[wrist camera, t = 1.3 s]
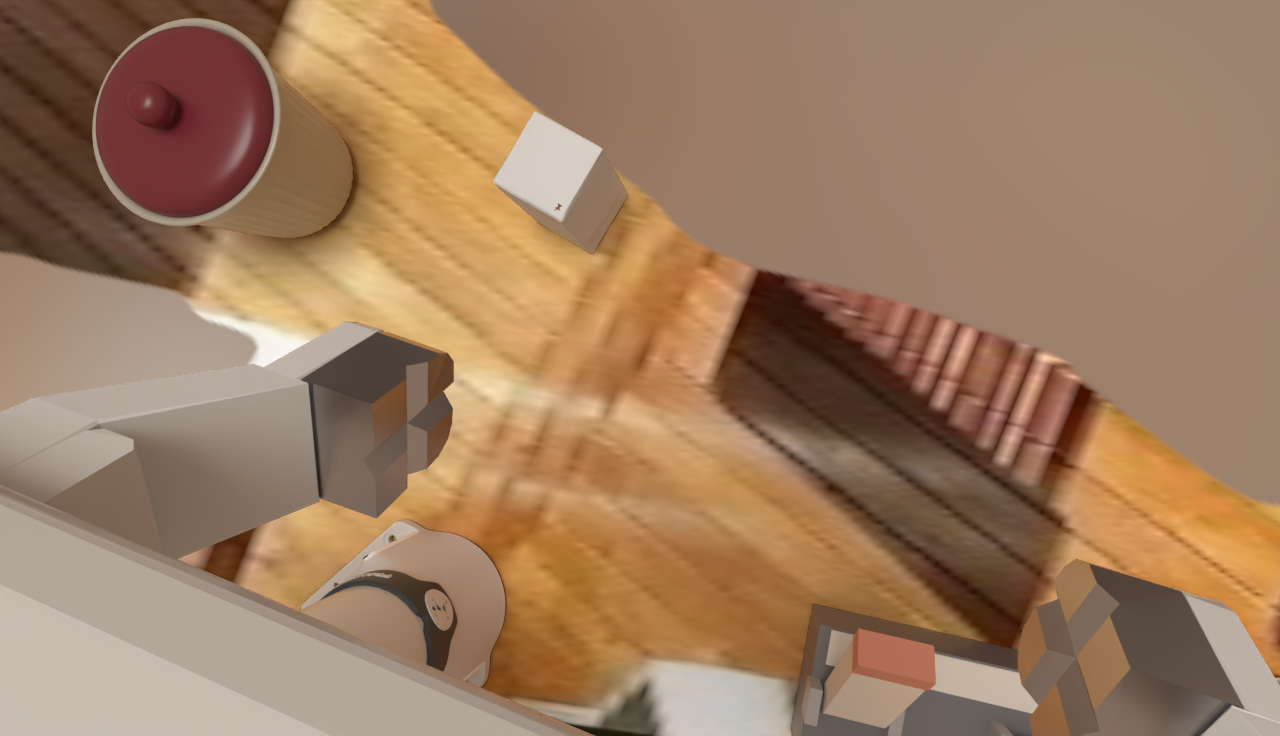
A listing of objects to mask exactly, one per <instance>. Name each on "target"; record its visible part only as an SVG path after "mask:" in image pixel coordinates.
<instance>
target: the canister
mask: <svg viewBox="0 0 1280 736" xmlns="http://www.w3.org/2000/svg"><path fill="white" fill-rule="evenodd" d="M92 133H93V146H94V152H95V157H96V161H97V164H98V167H99V170H100V172H101V174H102V176H103V178H104V180H105V182H106V184H107V186H108V187H109V189H110V190H111V192H112V193H113V194H114V195H115V197H116V198H117V199H118V200H119V201H120V202H121V203H122V204H123V205H124V206H125V207H127V208H128V209H129V210H130V211H132V212H133V213H135V214H137V215H138V216H140V217H142V218H144V219H147V220H149V221H152V222H155V223H158V224H163V225H168V226H191V225H203V226H209V227H215V228H220V229H225V230H231V231H236V232H242V233H248V234H254V235H261V236H268V237H279V238H293V237H297V238H298V237H303V236H305V235H311V234H313V233H314V232H316V231H320V230H321V229H322V228H323V227H325V226H328V225H329V223H330V222H331V221H333V220H335V219H336V217H337V215H338V214H339V213H341V211H342V209H343V207H344V206H345V205H346V201H347V199H348V197H349V196H350V190H351V188H352V180H353V173H352V172H353V166H352V163H351V162H352V159H351V156H350V154H349V150H348V147H347V146H346V144H345V142H344V140H343V138H342V136H341V135H340V134H339V133H338V132H337V130H336V128H335V127H334V126H333V125H332V124H331V123H330V122H329V121H328V120H327V119H326V118H325V117H324V116H323V115H322V114H321V113H320V112H319V111H318V110H317V109H316V108H315V107H314V106H313V105H312V104H310V103H309V102H308V101H307V100H306V99H305V98H304V97H303V96H302V95H301V94H300V93H299V92H298V91H297V90H295V89H294V88H293V87H292V86H291V85H290V84H289V83H288V82H287V81H285V80H284V79H283V78H282V77H281V76H280V75H279V74H278V73H277V72H276V71H275V70H274V69H272V68H271V66H270V64H269V62H268V60H267V59H266V57H265V56H264V54H263V53H262V51H261V50H260V49H259V48H258V47H257V46H256V45H255V43H253V42H252V41H251V40H250V39H249V38H248V37H247V36H245V35H244V34H243V33H241V32H240V31H238V30H236V29H235V28H233V27H231V26H229V25H226V24H224V23H221V22H218V21H214V20H209V19H199V18H191V19H182V20H176V21H172V22H168V23H165V24H163V25H160V26H158V27H156V28H154V29H152V30H150V31H148V32H147V33H145V34H143V35H142V36H140V37H139V38H138V39H136V40H135V41H134V42H133V43H132V44H131V45H129V46H128V47H127V48H126V49H125V50H124V52H123V53H122V54H121V55H120V56H119V57H118V59H117V60H116V61H115V63H114V64H113V66H112V67H111V69H110V70H109V72H108V74H107V76H106V77H105V80H104V82H103V84H102V86H101V89H100V91H99V94H98V97H97V101H96V105H95V110H94V116H93V129H92Z"/></svg>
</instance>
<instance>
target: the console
mask: <svg viewBox="0 0 1280 736" xmlns="http://www.w3.org/2000/svg"><path fill="white" fill-rule="evenodd" d="M858 628H859V629H863V630H868V631H872V632H876V633H881V634H885V635H889V636H894V637H898V638H903V639H907V640H911V641H916V642H920V643H925V644H929V645H933V646H934V655H935V674H936V684H935V685H934V686H933V687H932V688H931V689H930V690H929V691H927V690H925V691H924V692H923V693H922V694H921V695H920V696H919V697H918V698H917V699H916V700H915V701H914V702H913V703H912V704H911V705H910V706H908V707H907V708H906V709H905V710H904V711H903V712H902V713H901V714H900V715H899V716H898V717H897V718H896V719H895V720H894V721H893V722H892V723H891V724H890V725H889V726H887V727H886V728H881V727H877V726H873V725H869V724H864V723H860V722H856V721H852V720H848V719H844V718H840V717H836V716H832V715H828V714H824V713H823V712H820V705H821V699H822V694H823V692H824V683H825V682H826V680H827V679H828V677H829V676H830V674H831V673H832V671H833V670H834V668H835V667H836V665H837V664H838V662H839V661H840V659H841V658H842V656H843V655H844V653H845V652H846V650H847V649H848V647H849V646H850V644H851V643H852V641H853V636H854V634H855V633H856V631H857V630H858ZM1037 707H1038V704H1037V703H1036V702H1035V701H1034V699H1033V698H1032V697H1031V696H1030V694H1029V693H1028V692H1027V691H1026V690H1025V688H1024V687H1023V686H1022V685H1021V679H1020V674H1019V669H1018V650H1016V649H1012V648H1007V647H1003V646H999V645H994V644H990V643H985V642H981V641H976V640H972V639H967V638H963V637H959V636H954V635H950V634H945V633H941V632H936V631H932V630H927V629H923V628H919V627H914V626H910V625H905V624H901V623H896V622H892V621H887V620H883V619H879V618H874V617H870V616H865V615H861V614H856V613H852V612H847V611H843V610H839V609H834V608H830V607H825V606H821V605H816V604H813V605H812V611H811V617H810V622H809V628H808V634H807V639H806V645H805V651H804V656H803V662H802V668H801V673H800V679H799V685H798V690H797V696H796V701H795V707H794V713H793V718H792V724H791V733H792V736H1033V735H1032V731H1031V726H1030V722H1029V717H1030V716H1031V715H1032V714H1033V712H1034V711H1035V710H1036V708H1037Z"/></svg>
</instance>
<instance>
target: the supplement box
mask: <svg viewBox="0 0 1280 736" xmlns="http://www.w3.org/2000/svg"><path fill="white" fill-rule="evenodd" d="M493 183H494V184H495V185H496V186H497V187H498V188H499V189H500V190H501V191H502V192H504V193H505V194H506V195H507V196H508V197H509V198H511V199H512V200H513V201H514V202H515V203H516V204H518V205H519V206H520V207H521V208H522V209H523V210H525V211H526V212H527V213H528V214H529V215H530V216H531V217H532V218H533V219H535V220H536V221H537V222H538V223H540V224H541V225H543V226H545V227H546V228H548V229H549V230H551V231H553V232H554V233H556V234H558V235H559V236H561V237H563V238H564V239H566V240H568V241H570V242H571V243H573V244H575V245H577V246H579V247H580V248H582V249H584V250H586V251H587V252H589V253H591V254H593V253H594V251H595V250H596V248H597V246H598V245H599V243H600V241H601V240H602V238H603V236H604V235H605V233H606V231H607V230H608V228H609V226H610V225H611V223H612V221H613V220H614V218H615V216H616V215H617V213H618V211H619V209H620V208H621V206H622V205H623V203H624V201H625V199H626V198H627V196H628V193H627V191H626V190H625V188H624V186H623V184H622V182H621V181H620V179H619V177H618V175H617V174H616V172H615V170H614V168H613V167H612V165H611V163H610V161H609V160H608V158H607V156H606V154H605V152H604V151H603V149H602V148H601V147H599V146H598V145H596V144H594V143H592V142H590V141H589V140H587V139H585V138H584V137H582V136H580V135H578V134H576V133H574V132H573V131H571V130H569V129H567V128H566V127H564V126H562V125H560V124H558V123H556V122H555V121H553V120H551V119H549V118H547V117H546V116H544V115H542V114H540V113H538V112H536V111H535V112H534V113H533V115H532V116H531V118H530V120H529V121H528V123H527V125H526V127H525V128H524V130H523V132H522V133H521V135H520V137H519V139H518V140H517V142H516V144H515V145H514V147H513V149H512V150H511V152H510V153H509V155H508V157H507V158H506V160H505V161H504V163H503V165H502V166H501V168H500V170H499V171H498V173H497V174H496V176H495V178H494V179H493Z"/></svg>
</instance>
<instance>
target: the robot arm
mask: <svg viewBox="0 0 1280 736" xmlns="http://www.w3.org/2000/svg"><path fill="white" fill-rule="evenodd" d="M453 382H454V362H453V360H452V358H451V357H450V356H449V354H448V353H446V352H443V351H441V350H438V349H435V348H432V347H429V346H426V345H423V344H421V343H418V342H415V341H412V340H409V339H406V338H403V337H401V336H398V335H395V334H392V333H389V332H384V331H383V330H381V329H378V328H374V327H371V326H368V325H365V324H362V323H359V322H349V321H346V322H344V323H342V324H340V325H339V326H337V327H335V328H333V329H331V330H330V331H328V332H326V333H324V334H323V335H321V336H319V337H317V338H315V339H314V340H312V341H310V342H308V343H306V344H305V345H303V346H301V347H299V348H298V349H296V350H294V351H292V352H290V353H289V354H287V355H285V356H283V357H282V358H280V359H278V360H276V361H274V362H273V363H271V364H269V365H267V366H265V367H261V366H258V365H255V364H252V365H245V366H239V367H232V368H226V369H219V370H212V371H206V372H199V373H192V374H186V375H179V376H173V377H166V378H160V379H153V380H146V381H140V382H133V383H127V384H120V385H113V386H107V387H100V388H93V389H87V390H80V391H74V392H67V393H60V394H54V395H47V396H41V397H34V398H32V399H30V400H27V401H25V402H23V403H21V404H18V405H16V406H14V407H12V408H9V409H7V410H5V411H3V412H0V736H594V735H592V734H590V733H587V732H585V731H582V730H580V729H578V728H575V727H573V726H571V725H568V724H566V723H563V722H561V721H559V720H556V719H554V718H552V717H549V716H547V715H544V714H542V713H540V712H537V711H535V710H533V709H530V708H528V707H526V706H523V705H521V704H518V703H516V702H514V701H511V700H509V699H507V698H504V697H502V696H499V695H497V694H495V693H492V692H490V691H488V690H485V689H483V688H481V686H482V685H484V684H485V682H486V681H487V678H488V674H489V666H490V654H491V651H492V649H493V646H494V644H495V643H496V641H497V639H498V637H499V634H500V632H501V629H502V626H503V622H504V617H505V594H504V588H503V584H502V581H501V578H500V576H499V573H498V571H497V569H496V568H495V566H494V564H493V563H492V561H491V560H490V559H489V557H488V556H487V555H486V554H485V553H484V552H483V551H482V550H481V549H480V548H479V547H478V546H476V545H475V544H474V543H472V542H471V541H469V540H467V539H465V538H463V537H461V536H458V535H455V534H451V533H446V532H437V531H430V530H427V529H425V528H423V527H421V526H420V525H418V524H416V523H414V522H412V521H410V520H407V519H400V520H398V521H396V522H395V523H393V524H392V525H391V526H390V527H388V528H387V529H386V530H385V531H384V532H383V533H382V534H381V535H379V536H378V537H377V538H376V539H375V540H374V541H373V542H372V543H370V544H369V545H368V546H367V547H366V548H365V549H364V550H362V551H361V552H360V553H359V554H358V555H357V556H356V557H355V558H353V559H352V560H351V561H350V562H349V563H348V564H347V565H346V566H344V567H343V568H342V569H341V570H340V571H339V572H338V573H337V574H335V575H334V576H333V577H332V578H331V579H330V580H329V581H327V582H326V583H325V584H324V585H323V586H322V587H321V588H320V589H318V590H317V591H316V592H315V593H314V594H313V595H312V596H311V597H309V598H308V599H307V600H306V601H305V602H304V603H303V605H302V606H301V610H299V611H298V610H296V609H294V608H291V607H289V606H286V605H284V604H282V603H279V602H277V601H275V600H272V599H270V598H267V597H265V596H263V595H260V594H258V593H256V592H253V591H251V590H248V589H246V588H244V587H241V586H239V585H237V584H234V583H232V582H229V581H227V580H225V579H222V578H220V577H218V576H215V575H213V574H211V573H208V572H206V571H203V570H201V569H199V568H196V567H194V566H192V565H189V564H187V563H184V562H182V561H180V560H177V559H178V558H181V557H183V556H186V555H188V554H191V553H193V552H196V551H198V550H201V549H203V548H206V547H208V546H211V545H213V544H216V543H218V542H220V541H223V540H225V539H228V538H230V537H233V536H235V535H238V534H240V533H243V532H245V531H248V530H250V529H253V528H255V527H258V526H260V525H263V524H265V523H268V522H270V521H273V520H275V519H278V518H280V517H283V516H285V515H288V514H290V513H293V512H295V511H297V510H300V509H302V508H305V507H307V506H310V505H312V504H315V503H317V502H319V498H320V499H323V500H326V501H329V502H331V503H334V504H337V505H340V506H343V507H346V508H349V509H351V510H354V511H357V512H360V513H363V514H366V515H369V516H371V517H374V518H378V517H379V516H380V515H381V514H382V513H383V512H384V511H385V510H386V509H387V508H388V507H389V506H390V505H391V504H392V503H393V502H394V501H395V500H396V499H397V498H398V497H399V496H400V495H401V494H402V493H403V492H404V491H405V490H406V489H407V475H408V474H411V473H414V472H418V471H421V470H424V469H427V468H428V467H429V466H430V465H431V464H432V463H433V461H434V460H435V459H436V458H437V457H438V456H439V454H440V452H441V451H442V449H443V447H444V445H445V443H446V441H447V439H448V437H449V433H450V429H451V425H452V412H453V408H452V406H451V404H450V402H449V401H448V399H447V397H446V395H445V393H444V392H443V391H444V390H445V389H446V388H447V387H448V386H450V385H451V384H452V383H453ZM392 535H394V536H395V537H396V541H393V540H392ZM1054 584H1055V588H1056V591H1057V595H1058V599H1057V600H1055V601H1052V602H1049V603H1046V604H1044V605H1041V606H1038V607H1036V608H1035V610H1034V611H1033V613H1032V614H1031V616H1030V618H1029V619H1028V621H1027V622H1026V624H1025V626H1024V628H1023V632H1022V635H1021V639H1020V643H1019V647H1018V669H1019V674H1020V679H1021V685H1022V686H1023V687H1024V688H1025V690H1026V691H1027V692H1028V693H1029V694H1030V696H1031V697H1032V698H1033V699H1034V701H1035V702H1036V703H1037V704H1038V707H1037V708H1036V710H1035V711H1034V712H1033V714H1032V715H1031V716H1030V717H1029V722H1030V726H1031V731H1032V735H1033V736H1280V685H1279V684H1278V682H1277V680H1276V679H1275V677H1274V675H1273V674H1272V672H1271V670H1270V669H1269V667H1268V666H1267V664H1266V662H1265V661H1264V659H1263V657H1262V656H1261V654H1260V652H1259V651H1258V649H1257V647H1256V646H1255V644H1254V643H1253V641H1252V639H1251V638H1250V636H1249V634H1248V633H1247V631H1246V629H1245V628H1244V626H1243V625H1242V623H1241V621H1240V620H1239V618H1238V616H1237V615H1236V613H1235V612H1234V611H1233V610H1231V609H1230V608H1229V607H1227V606H1226V605H1225V604H1223V603H1222V602H1219V601H1216V600H1212V599H1209V598H1206V597H1202V596H1199V595H1195V594H1192V593H1189V592H1185V591H1182V590H1178V589H1175V588H1169V587H1165V586H1162V585H1159V584H1156V583H1152V582H1149V581H1146V580H1143V579H1140V578H1136V577H1133V576H1130V575H1127V574H1124V573H1120V572H1117V571H1114V570H1111V569H1108V568H1104V567H1101V566H1098V565H1095V564H1091V563H1088V562H1085V561H1082V560H1079V559H1075V560H1073V561H1072V562H1071V563H1069V564H1068V565H1066V566H1065V567H1064V568H1063V570H1062V571H1061V572H1060V574H1059V575H1058V577H1057V578H1056V579H1055V581H1054ZM466 680H467V682H466Z"/></svg>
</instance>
